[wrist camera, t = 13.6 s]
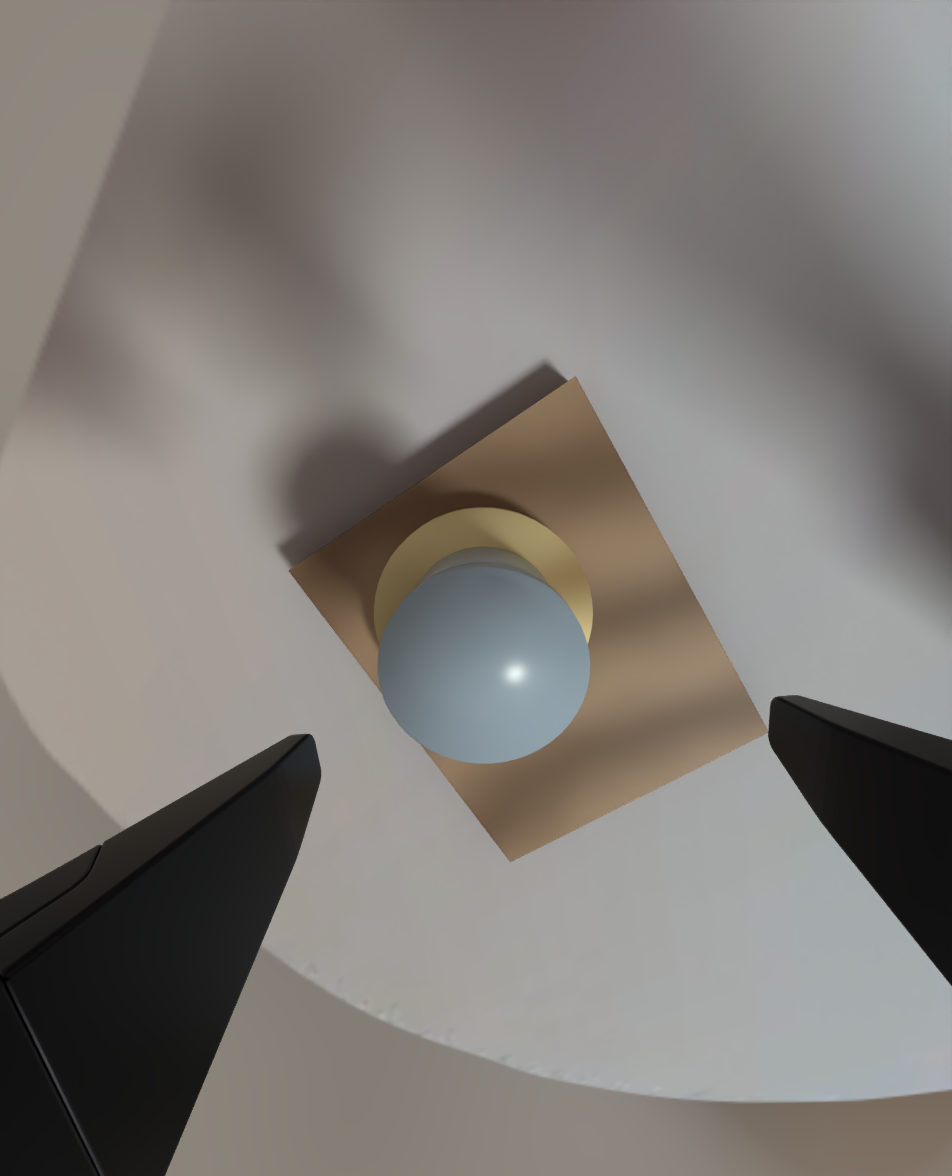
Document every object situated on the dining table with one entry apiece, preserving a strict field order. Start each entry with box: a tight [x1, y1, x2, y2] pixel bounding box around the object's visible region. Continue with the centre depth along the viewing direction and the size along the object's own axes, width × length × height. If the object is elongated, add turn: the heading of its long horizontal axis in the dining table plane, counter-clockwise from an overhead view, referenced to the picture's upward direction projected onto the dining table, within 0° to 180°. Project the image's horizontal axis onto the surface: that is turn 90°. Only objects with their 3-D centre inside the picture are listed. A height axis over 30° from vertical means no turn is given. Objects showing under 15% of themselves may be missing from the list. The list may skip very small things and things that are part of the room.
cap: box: [377, 547, 590, 764], centre depth 16 cm, size 6×6×5 cm
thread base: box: [289, 376, 768, 862], centre depth 20 cm, size 18×14×2 cm
